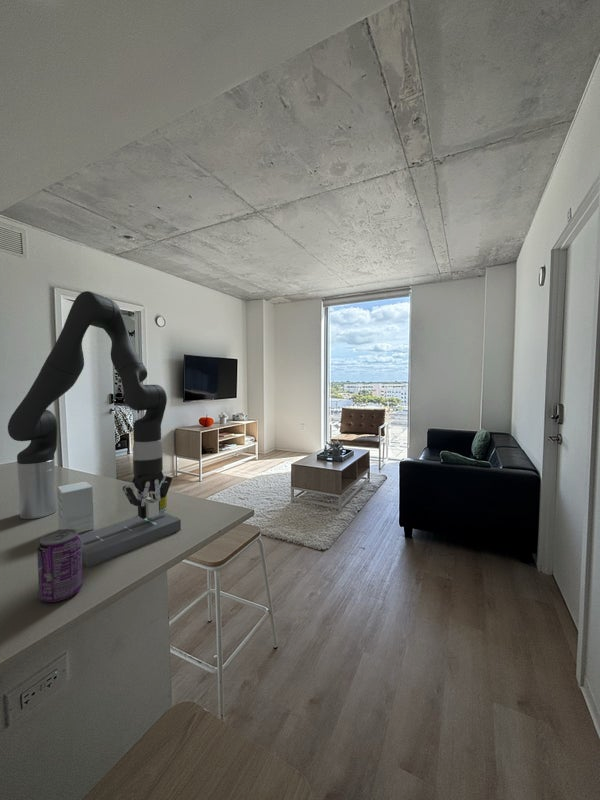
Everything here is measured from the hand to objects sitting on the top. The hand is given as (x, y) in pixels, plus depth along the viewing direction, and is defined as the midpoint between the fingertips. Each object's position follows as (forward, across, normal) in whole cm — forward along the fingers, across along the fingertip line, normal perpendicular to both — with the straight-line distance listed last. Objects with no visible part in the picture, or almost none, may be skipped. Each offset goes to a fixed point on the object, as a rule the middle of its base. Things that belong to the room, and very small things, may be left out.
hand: (149, 515), depth 93 cm
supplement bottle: (+5, -10, -13) cm, 17 cm away
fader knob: (+1, 0, 0) cm, 1 cm away
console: (+5, +6, 0) cm, 8 cm away
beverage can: (+5, +25, +12) cm, 28 cm away
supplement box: (+5, +12, -18) cm, 22 cm away
